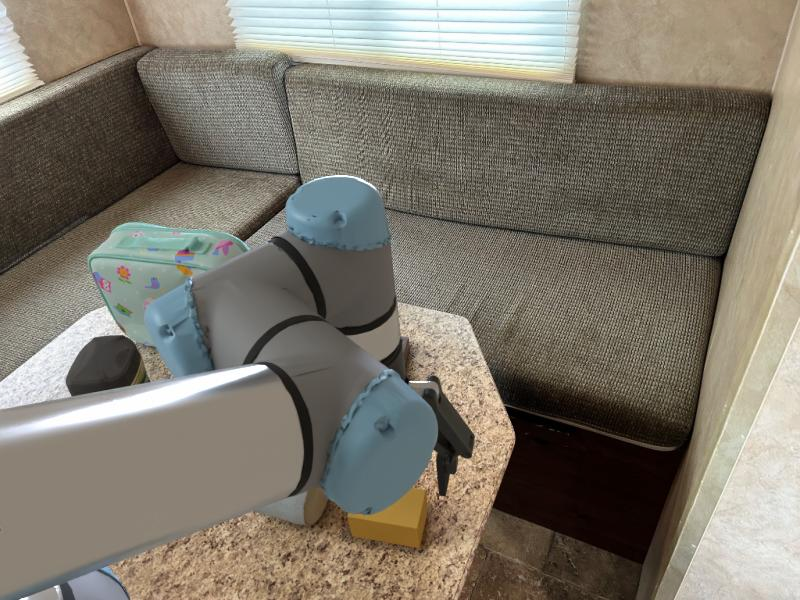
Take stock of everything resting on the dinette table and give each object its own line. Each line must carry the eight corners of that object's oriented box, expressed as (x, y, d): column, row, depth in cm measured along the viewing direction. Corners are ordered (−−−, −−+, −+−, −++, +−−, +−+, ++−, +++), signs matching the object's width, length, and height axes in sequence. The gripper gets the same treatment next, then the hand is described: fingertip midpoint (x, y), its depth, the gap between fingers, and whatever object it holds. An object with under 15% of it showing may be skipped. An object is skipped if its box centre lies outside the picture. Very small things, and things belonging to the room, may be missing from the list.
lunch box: (287, 324, 105) (259, 218, 91) (262, 367, 97) (228, 258, 84) (152, 309, 111) (107, 208, 97) (119, 348, 103) (66, 244, 90)
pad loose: (428, 509, 75) (426, 489, 73) (419, 548, 71) (417, 528, 69) (363, 498, 77) (359, 478, 74) (351, 536, 73) (346, 516, 71)
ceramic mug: (314, 540, 73) (303, 503, 68) (254, 523, 76) (240, 487, 71) (347, 469, 81) (339, 432, 76) (292, 456, 83) (281, 419, 79)
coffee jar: (167, 474, 83) (115, 380, 71) (109, 479, 83) (48, 386, 71) (182, 418, 90) (139, 325, 78) (130, 423, 90) (78, 331, 78)
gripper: (503, 325, 55) (499, 464, 68) (251, 303, 61) (294, 435, 74) (494, 387, 49) (492, 524, 63) (218, 357, 55) (270, 488, 69)
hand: (385, 476), depth 69 cm, fingers open, 13 cm apart
